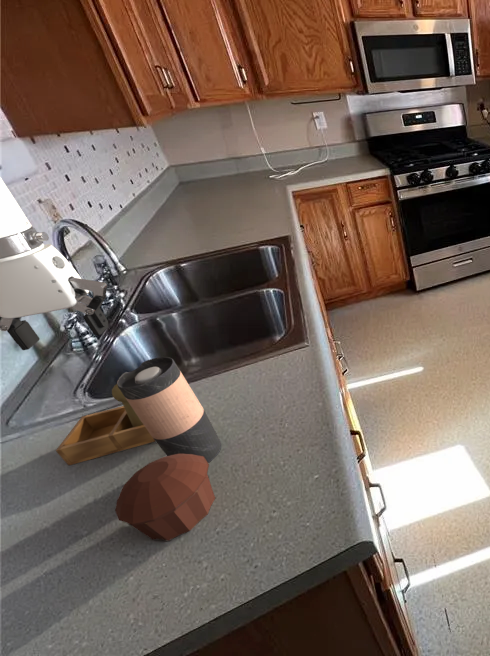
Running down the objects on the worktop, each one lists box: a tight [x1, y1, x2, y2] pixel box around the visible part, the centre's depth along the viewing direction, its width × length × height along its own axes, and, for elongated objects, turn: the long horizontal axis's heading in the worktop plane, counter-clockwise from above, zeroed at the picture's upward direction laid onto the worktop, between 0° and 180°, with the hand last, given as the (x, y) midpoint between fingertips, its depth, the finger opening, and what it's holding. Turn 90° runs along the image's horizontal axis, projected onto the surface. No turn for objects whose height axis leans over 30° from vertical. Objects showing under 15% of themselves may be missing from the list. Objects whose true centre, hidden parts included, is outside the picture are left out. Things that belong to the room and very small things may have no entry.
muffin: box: [114, 454, 216, 542], centre depth 64 cm, size 12×11×10 cm
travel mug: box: [116, 356, 222, 464], centre depth 71 cm, size 8×8×20 cm
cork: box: [111, 383, 144, 427], centre depth 80 cm, size 6×6×11 cm
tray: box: [55, 405, 156, 466], centre depth 81 cm, size 16×9×4 cm, turn 109°
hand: (67, 337), depth 70 cm, fingers open, 9 cm apart
